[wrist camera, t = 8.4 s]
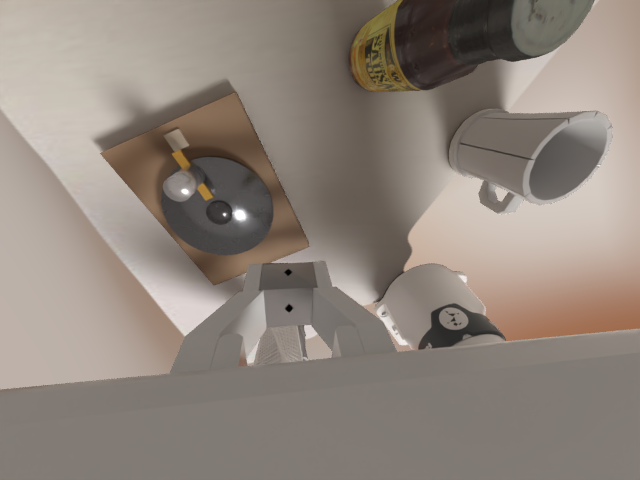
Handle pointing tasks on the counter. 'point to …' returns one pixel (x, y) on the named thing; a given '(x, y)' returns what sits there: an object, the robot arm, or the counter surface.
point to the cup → (530, 154)
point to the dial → (217, 204)
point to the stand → (209, 140)
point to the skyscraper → (281, 345)
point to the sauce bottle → (456, 39)
